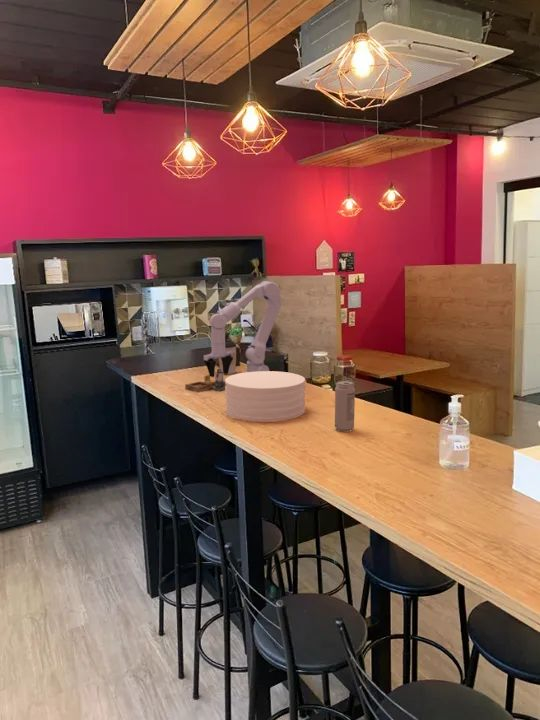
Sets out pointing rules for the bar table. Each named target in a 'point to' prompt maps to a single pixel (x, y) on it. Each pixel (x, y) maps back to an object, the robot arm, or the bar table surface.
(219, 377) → the peg
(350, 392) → the energy drink can
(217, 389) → the socket collar
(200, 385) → the square wooden tray
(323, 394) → the bar table surface
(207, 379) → the golden l-shaped block
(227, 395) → the plate stack
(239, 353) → the potted plant
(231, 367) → the coffee cup
